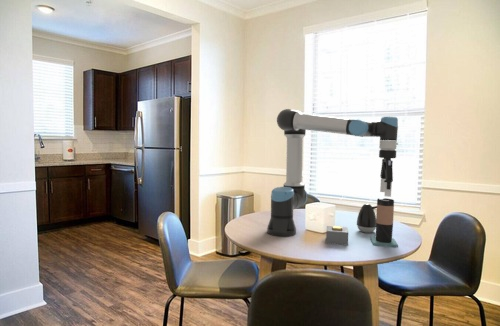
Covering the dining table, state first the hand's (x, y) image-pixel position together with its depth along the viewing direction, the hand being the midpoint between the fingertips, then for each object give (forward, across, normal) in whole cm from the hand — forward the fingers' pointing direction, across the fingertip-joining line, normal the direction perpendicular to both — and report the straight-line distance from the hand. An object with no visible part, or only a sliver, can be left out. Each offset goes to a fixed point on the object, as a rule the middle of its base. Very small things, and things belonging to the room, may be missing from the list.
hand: (385, 194), depth 166 cm
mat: (+24, 0, 0) cm, 24 cm away
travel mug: (+23, 0, 0) cm, 23 cm away
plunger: (+23, -4, +22) cm, 32 cm away
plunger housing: (+24, -4, +22) cm, 32 cm away
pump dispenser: (+24, +19, +6) cm, 31 cm away
